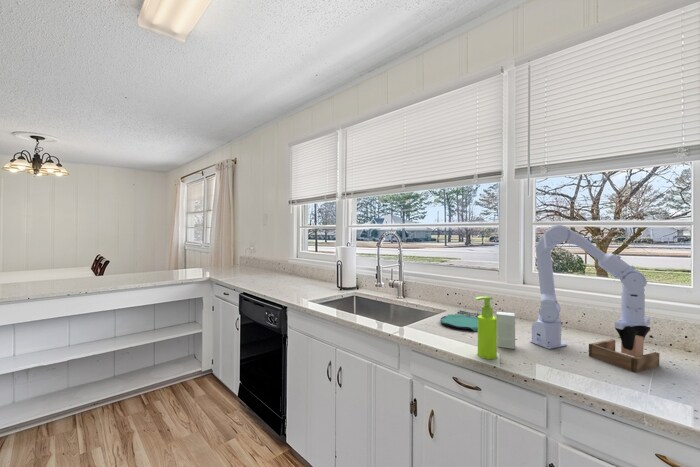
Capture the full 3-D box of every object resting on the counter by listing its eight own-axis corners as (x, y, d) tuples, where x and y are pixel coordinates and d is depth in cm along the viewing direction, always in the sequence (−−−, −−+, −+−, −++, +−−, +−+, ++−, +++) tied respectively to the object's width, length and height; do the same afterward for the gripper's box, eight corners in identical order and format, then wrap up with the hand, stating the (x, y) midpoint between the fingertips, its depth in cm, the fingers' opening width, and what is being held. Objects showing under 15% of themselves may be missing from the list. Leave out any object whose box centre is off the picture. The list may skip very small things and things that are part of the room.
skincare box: (514, 345, 115) (514, 312, 115) (515, 349, 111) (515, 316, 111) (496, 342, 117) (496, 311, 117) (496, 346, 114) (496, 314, 113)
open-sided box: (634, 372, 93) (635, 359, 93) (588, 355, 105) (588, 343, 105) (659, 366, 97) (659, 353, 97) (612, 350, 109) (612, 339, 109)
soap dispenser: (471, 352, 109) (471, 295, 108) (490, 351, 109) (490, 294, 109) (480, 359, 103) (480, 299, 102) (500, 358, 103) (500, 298, 103)
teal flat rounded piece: (433, 326, 138) (433, 320, 138) (456, 312, 162) (456, 307, 162) (480, 335, 126) (480, 330, 126) (498, 319, 150) (498, 314, 150)
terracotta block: (635, 357, 100) (635, 338, 100) (621, 352, 104) (621, 334, 104) (643, 355, 102) (643, 337, 101) (628, 350, 105) (629, 333, 105)
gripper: (633, 312, 96) (632, 356, 97) (661, 307, 101) (661, 349, 101) (607, 306, 103) (607, 347, 103) (635, 302, 108) (635, 341, 108)
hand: (632, 348), depth 103 cm, fingers closed on terracotta block, 4 cm apart
